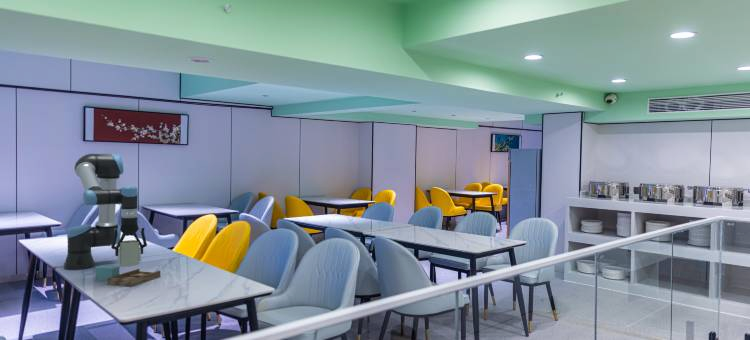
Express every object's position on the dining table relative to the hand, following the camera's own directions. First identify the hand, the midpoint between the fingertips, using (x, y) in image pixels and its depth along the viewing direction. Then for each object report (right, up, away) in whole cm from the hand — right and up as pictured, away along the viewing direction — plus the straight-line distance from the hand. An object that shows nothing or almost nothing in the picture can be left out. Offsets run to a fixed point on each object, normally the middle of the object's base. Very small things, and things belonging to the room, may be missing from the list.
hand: (129, 261), depth 265 cm
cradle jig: (+1, -10, +4) cm, 11 cm away
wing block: (-13, -10, +4) cm, 17 cm away
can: (0, -2, 0) cm, 2 cm away
